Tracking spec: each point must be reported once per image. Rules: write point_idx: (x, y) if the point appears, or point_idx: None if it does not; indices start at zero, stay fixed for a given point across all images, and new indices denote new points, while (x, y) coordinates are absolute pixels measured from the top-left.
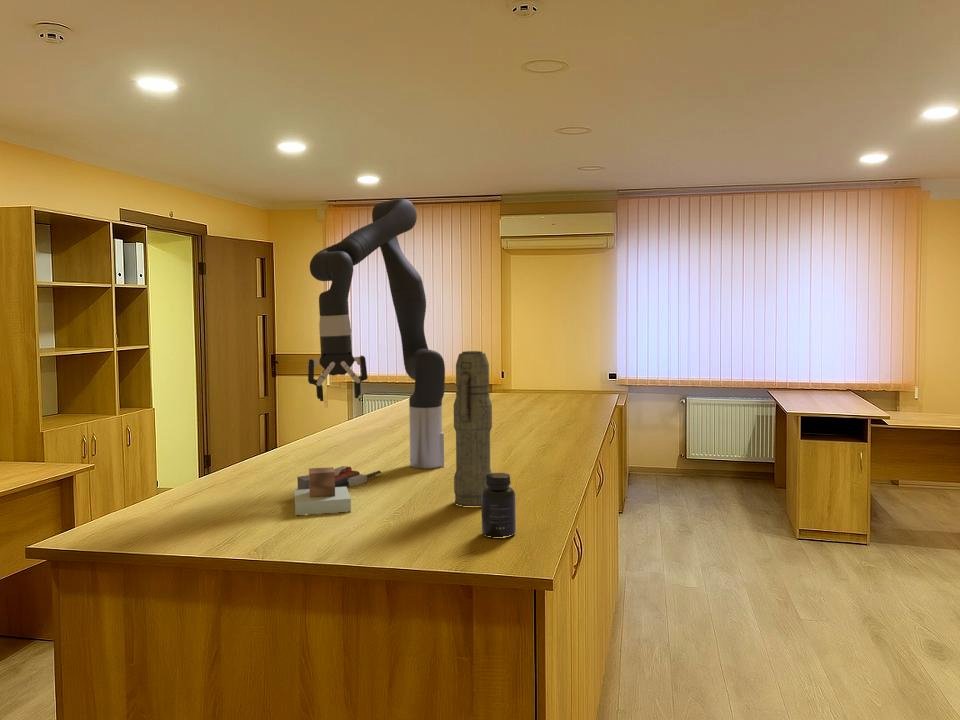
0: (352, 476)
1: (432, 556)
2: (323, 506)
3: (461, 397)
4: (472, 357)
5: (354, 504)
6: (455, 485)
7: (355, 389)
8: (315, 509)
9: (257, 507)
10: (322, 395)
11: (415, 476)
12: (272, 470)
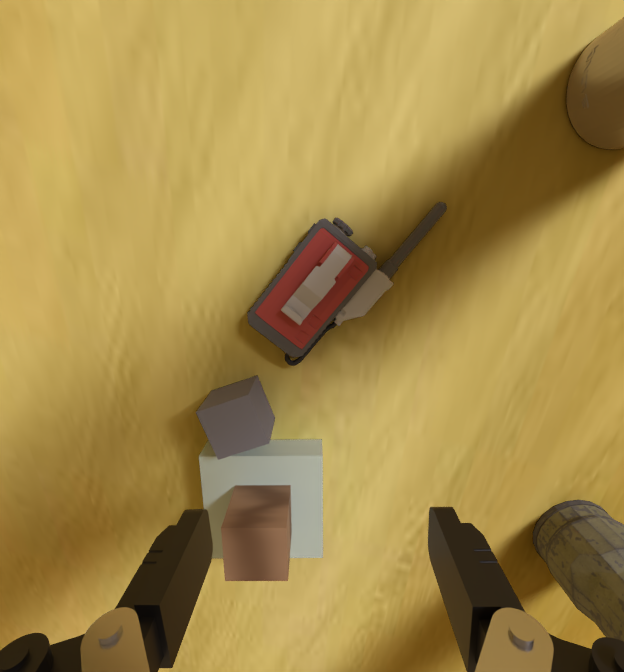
0: (351, 296)
1: None
2: None
3: None
4: None
5: (334, 484)
6: (558, 574)
7: (450, 617)
8: None
9: (131, 457)
10: (196, 588)
11: (536, 245)
12: (99, 6)
